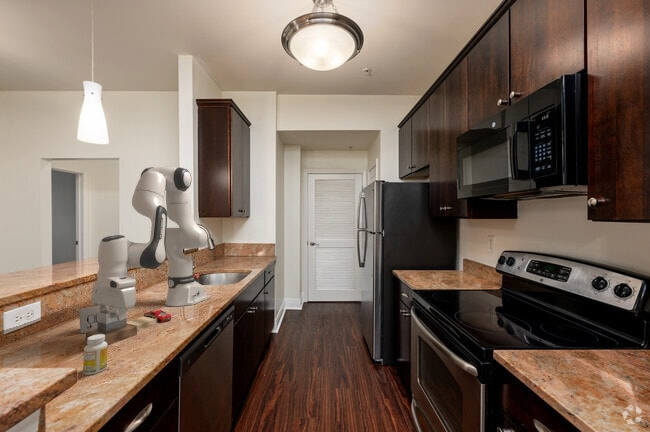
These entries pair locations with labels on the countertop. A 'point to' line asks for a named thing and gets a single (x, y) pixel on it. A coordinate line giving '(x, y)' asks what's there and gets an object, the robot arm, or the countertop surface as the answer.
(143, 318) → the oak riser
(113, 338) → the walnut stand
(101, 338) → the supplement bottle
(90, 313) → the electrical switch
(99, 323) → the housing
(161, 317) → the race car
